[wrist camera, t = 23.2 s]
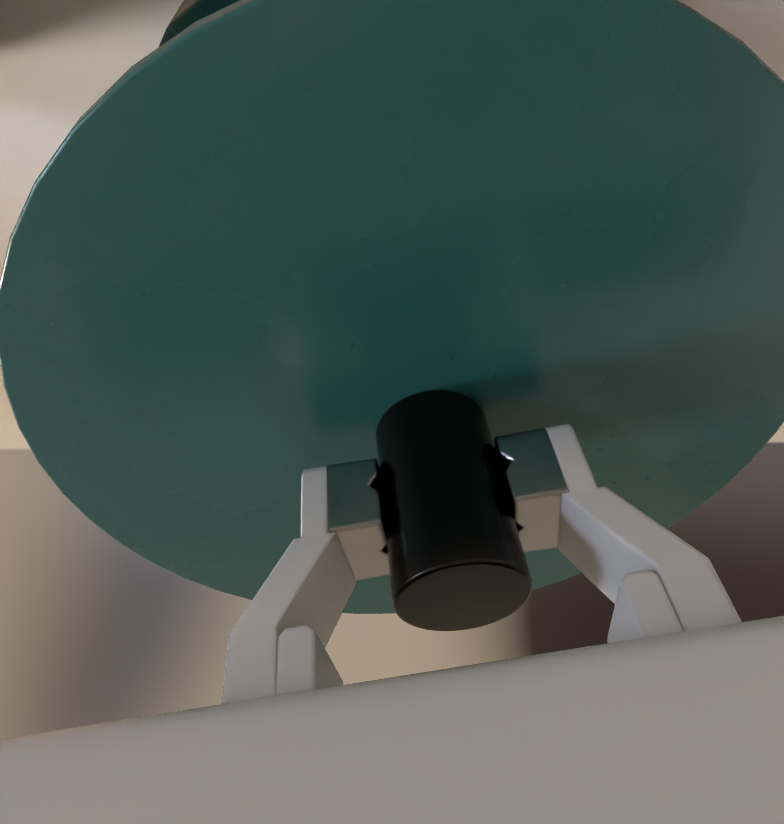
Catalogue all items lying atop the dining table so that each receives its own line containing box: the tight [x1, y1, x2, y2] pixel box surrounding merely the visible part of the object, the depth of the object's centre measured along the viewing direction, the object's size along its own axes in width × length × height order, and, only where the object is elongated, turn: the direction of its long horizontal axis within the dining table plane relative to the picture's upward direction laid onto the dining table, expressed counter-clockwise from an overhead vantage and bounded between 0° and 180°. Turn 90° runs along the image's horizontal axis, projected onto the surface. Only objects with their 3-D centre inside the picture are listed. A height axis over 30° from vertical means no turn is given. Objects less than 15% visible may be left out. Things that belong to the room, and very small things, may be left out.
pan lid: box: [0, 0, 784, 631], centre depth 12 cm, size 17×17×5 cm
